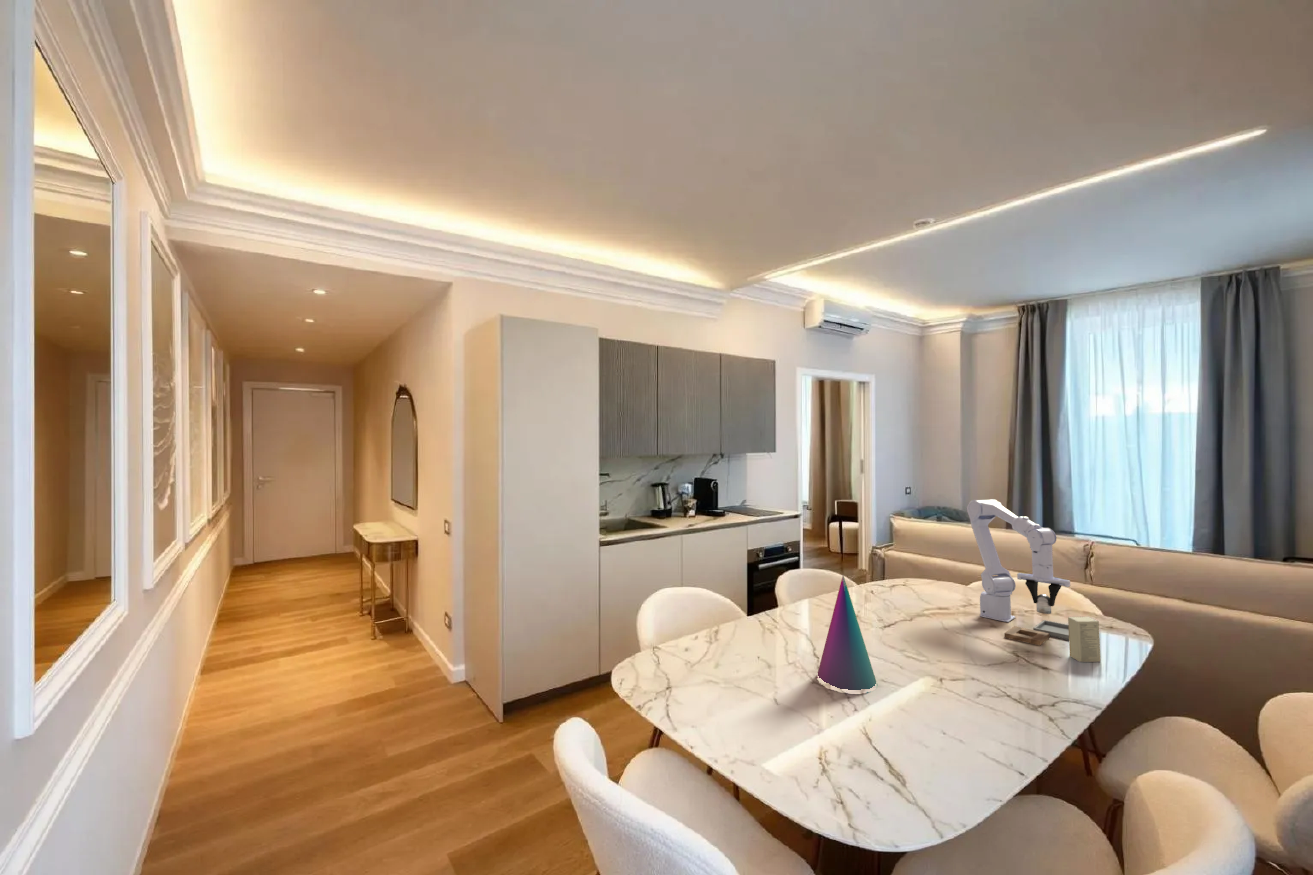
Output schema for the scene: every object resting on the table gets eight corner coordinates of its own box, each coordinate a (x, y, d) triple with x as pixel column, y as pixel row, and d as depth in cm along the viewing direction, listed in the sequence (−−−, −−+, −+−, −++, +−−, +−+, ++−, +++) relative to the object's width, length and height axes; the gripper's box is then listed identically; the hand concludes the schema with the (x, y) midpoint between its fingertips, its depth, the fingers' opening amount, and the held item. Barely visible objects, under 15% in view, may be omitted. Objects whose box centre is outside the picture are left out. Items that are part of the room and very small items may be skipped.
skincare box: (1090, 656, 161) (1089, 616, 161) (1101, 662, 156) (1099, 621, 156) (1068, 656, 161) (1067, 616, 161) (1078, 662, 157) (1077, 620, 157)
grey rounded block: (1034, 611, 179) (1034, 594, 180) (1039, 609, 182) (1038, 591, 182) (1049, 614, 176) (1048, 596, 176) (1053, 612, 179) (1052, 594, 179)
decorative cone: (873, 671, 154) (870, 568, 154) (881, 697, 138) (877, 582, 139) (815, 666, 158) (812, 566, 159) (817, 691, 143) (813, 579, 143)
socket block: (1004, 637, 178) (1004, 632, 178) (1014, 630, 184) (1014, 625, 184) (1040, 645, 170) (1039, 640, 170) (1049, 637, 176) (1049, 633, 176)
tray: (1033, 632, 181) (1033, 627, 181) (1043, 624, 189) (1043, 619, 189) (1077, 641, 172) (1076, 636, 172) (1086, 632, 180) (1086, 628, 180)
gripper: (1013, 562, 183) (1015, 601, 182) (1065, 569, 171) (1066, 611, 171) (1020, 559, 187) (1022, 597, 187) (1071, 565, 176) (1072, 606, 175)
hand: (1043, 604), depth 179 cm, fingers closed on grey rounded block, 4 cm apart
